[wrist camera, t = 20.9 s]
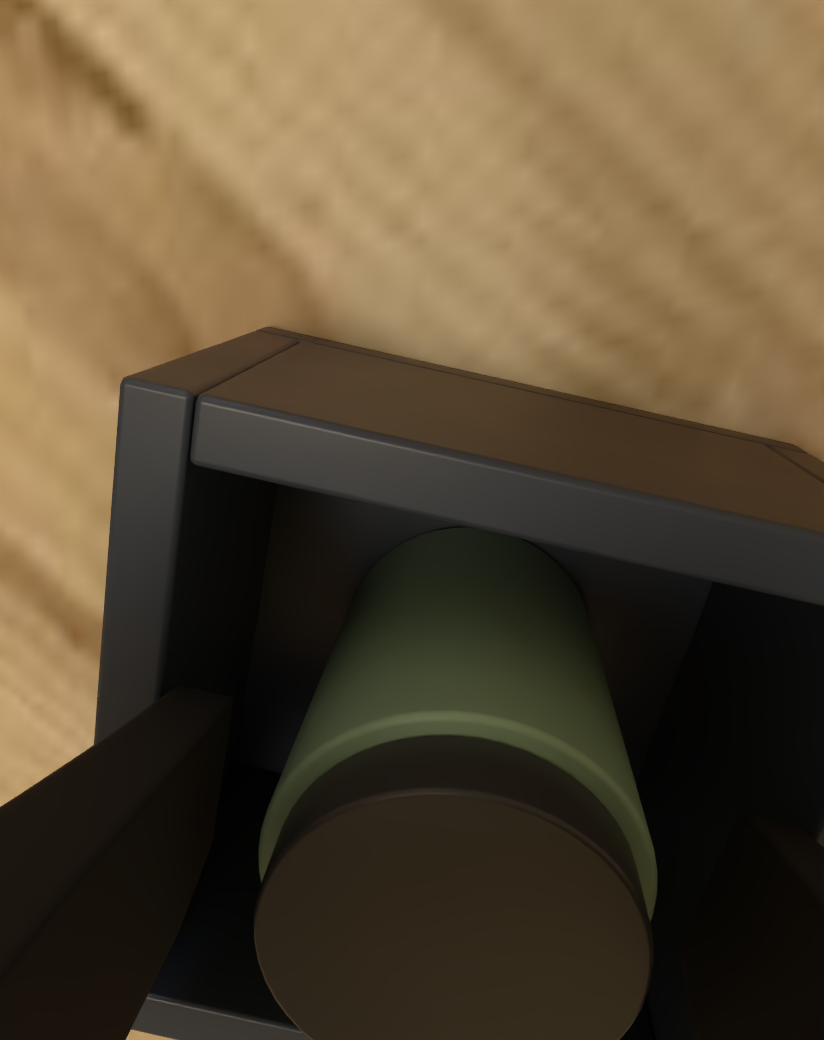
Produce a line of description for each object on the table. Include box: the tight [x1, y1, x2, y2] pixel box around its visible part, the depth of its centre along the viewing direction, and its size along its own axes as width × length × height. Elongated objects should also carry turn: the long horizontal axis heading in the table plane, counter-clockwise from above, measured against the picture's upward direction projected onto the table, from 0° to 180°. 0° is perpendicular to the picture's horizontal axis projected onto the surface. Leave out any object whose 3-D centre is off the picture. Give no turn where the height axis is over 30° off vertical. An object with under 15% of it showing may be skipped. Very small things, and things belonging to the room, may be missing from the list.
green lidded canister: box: [253, 527, 658, 1040], centre depth 9 cm, size 4×4×6 cm
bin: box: [94, 327, 824, 1040], centre depth 11 cm, size 8×8×5 cm
